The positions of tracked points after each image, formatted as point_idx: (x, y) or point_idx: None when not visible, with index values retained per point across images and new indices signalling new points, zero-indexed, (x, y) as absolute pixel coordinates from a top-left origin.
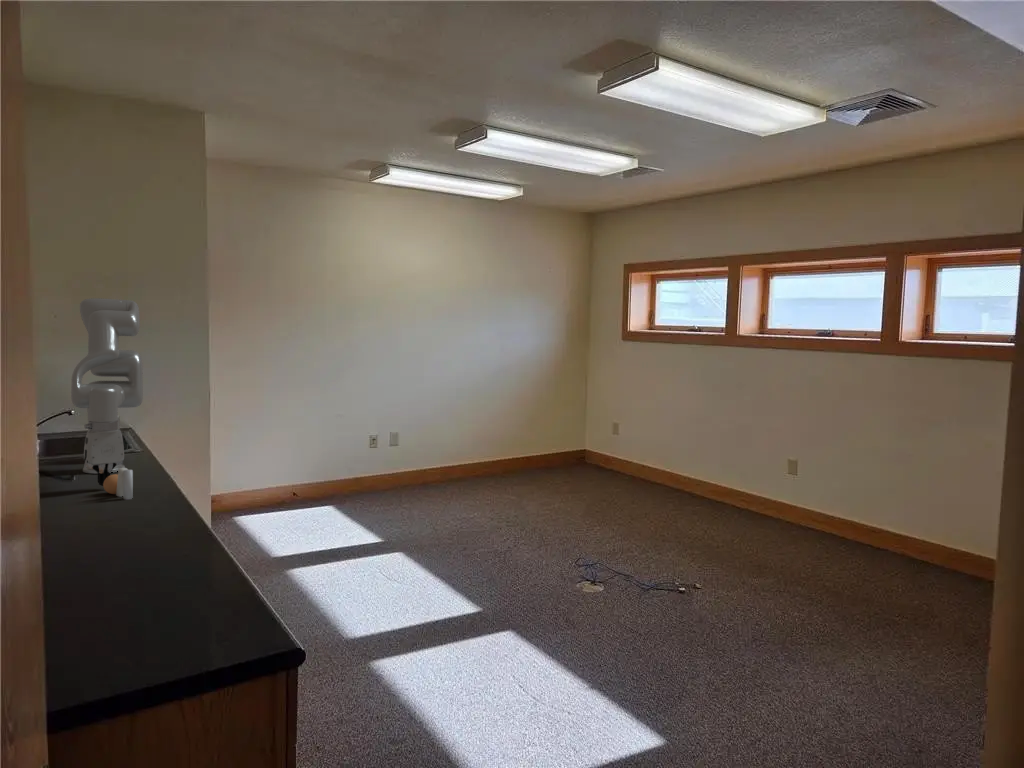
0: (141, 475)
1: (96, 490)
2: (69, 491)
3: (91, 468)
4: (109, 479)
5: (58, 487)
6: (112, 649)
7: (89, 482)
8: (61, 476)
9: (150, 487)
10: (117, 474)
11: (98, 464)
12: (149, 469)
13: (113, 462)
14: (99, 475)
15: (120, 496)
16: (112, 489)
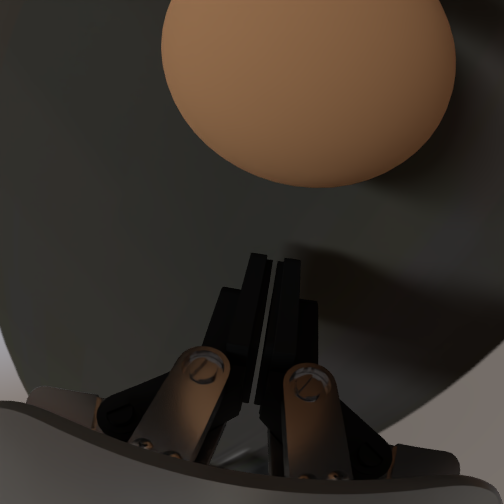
0: (43, 353)
1: (319, 283)
2: (409, 357)
3: (405, 447)
4: (442, 10)
5: None
6: None
7: None
8: (250, 472)
9: (29, 99)
10: (256, 21)
11: (401, 479)
12: (30, 379)
13: (124, 446)
14: (314, 362)
15: None
16: None
